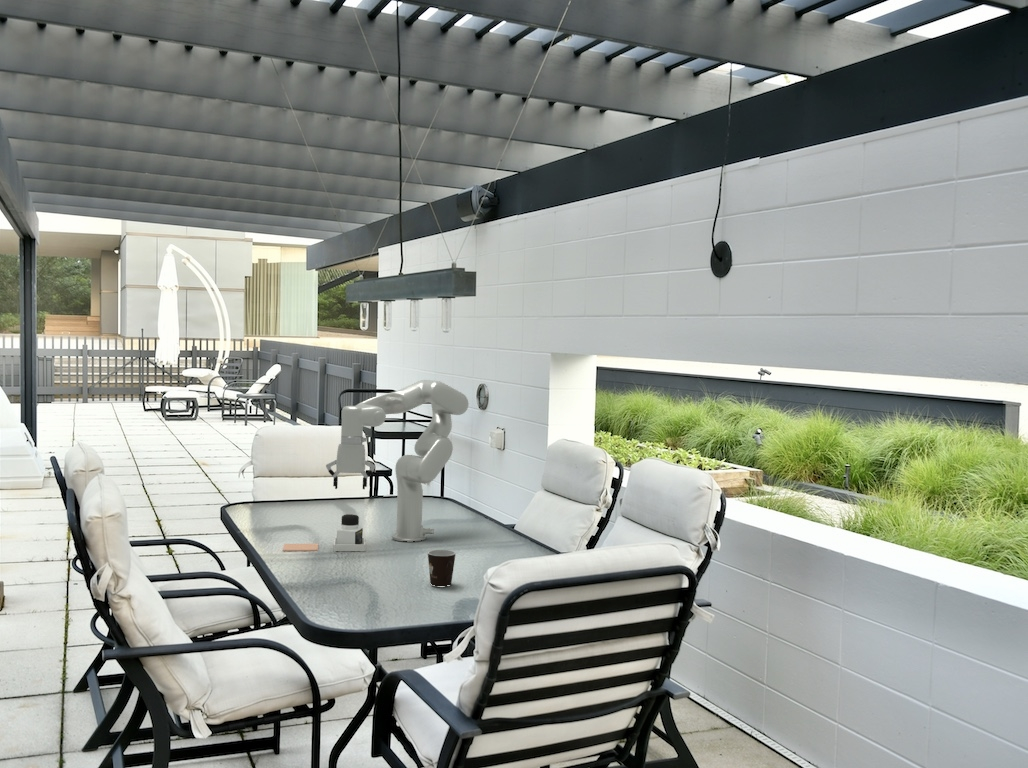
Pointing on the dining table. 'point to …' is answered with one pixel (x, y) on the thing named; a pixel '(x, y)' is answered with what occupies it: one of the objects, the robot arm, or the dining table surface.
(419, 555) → the dining table surface
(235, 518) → the dining table surface
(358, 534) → the medicine bottle
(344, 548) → the parts bin
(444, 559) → the coffee mug
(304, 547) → the coaster
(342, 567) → the dining table surface
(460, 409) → the robot arm
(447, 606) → the dining table surface
